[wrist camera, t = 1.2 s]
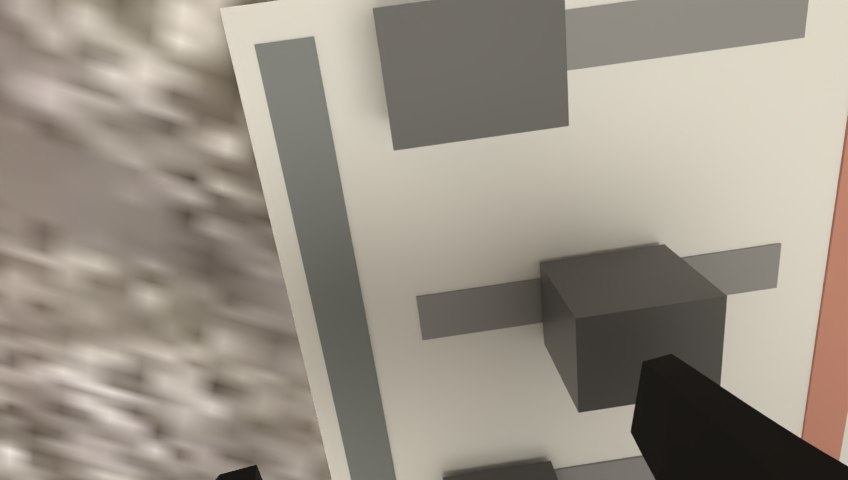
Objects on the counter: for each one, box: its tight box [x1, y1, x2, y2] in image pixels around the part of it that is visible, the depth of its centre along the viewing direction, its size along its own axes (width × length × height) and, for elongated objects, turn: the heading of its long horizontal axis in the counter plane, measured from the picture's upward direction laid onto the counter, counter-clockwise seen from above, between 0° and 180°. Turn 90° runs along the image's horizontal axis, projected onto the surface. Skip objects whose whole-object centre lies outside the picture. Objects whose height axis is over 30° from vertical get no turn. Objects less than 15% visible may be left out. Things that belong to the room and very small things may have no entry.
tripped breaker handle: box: [540, 244, 727, 413], centre depth 17 cm, size 3×4×4 cm
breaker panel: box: [220, 0, 848, 480], centre depth 19 cm, size 20×20×7 cm
